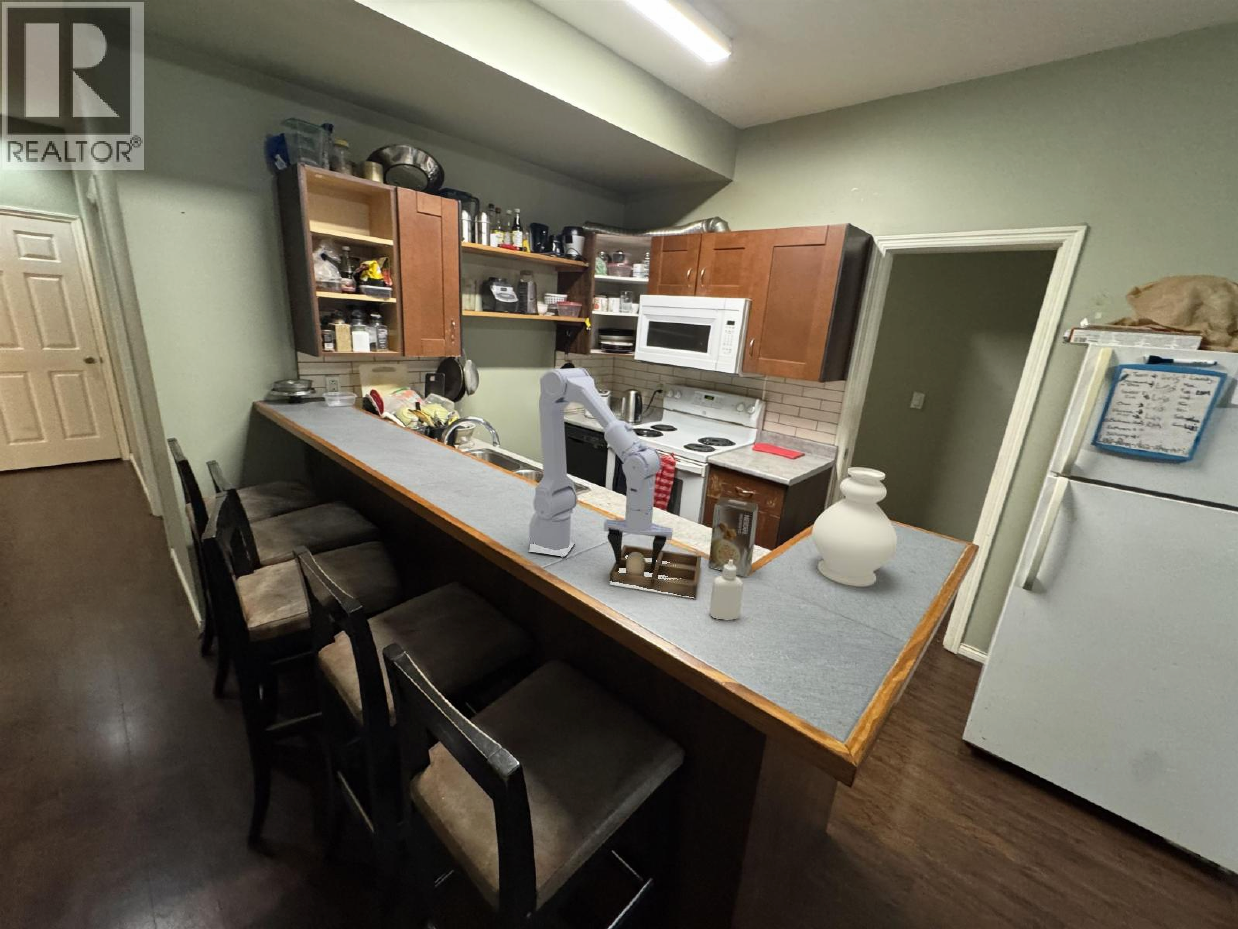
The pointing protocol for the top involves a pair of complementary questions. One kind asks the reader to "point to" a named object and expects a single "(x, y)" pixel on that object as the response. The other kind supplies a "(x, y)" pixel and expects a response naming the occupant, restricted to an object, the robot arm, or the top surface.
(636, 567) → the cylinder
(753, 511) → the coffee box
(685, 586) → the crate
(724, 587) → the eye dropper bottle
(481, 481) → the top surface
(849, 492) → the decorative vase
